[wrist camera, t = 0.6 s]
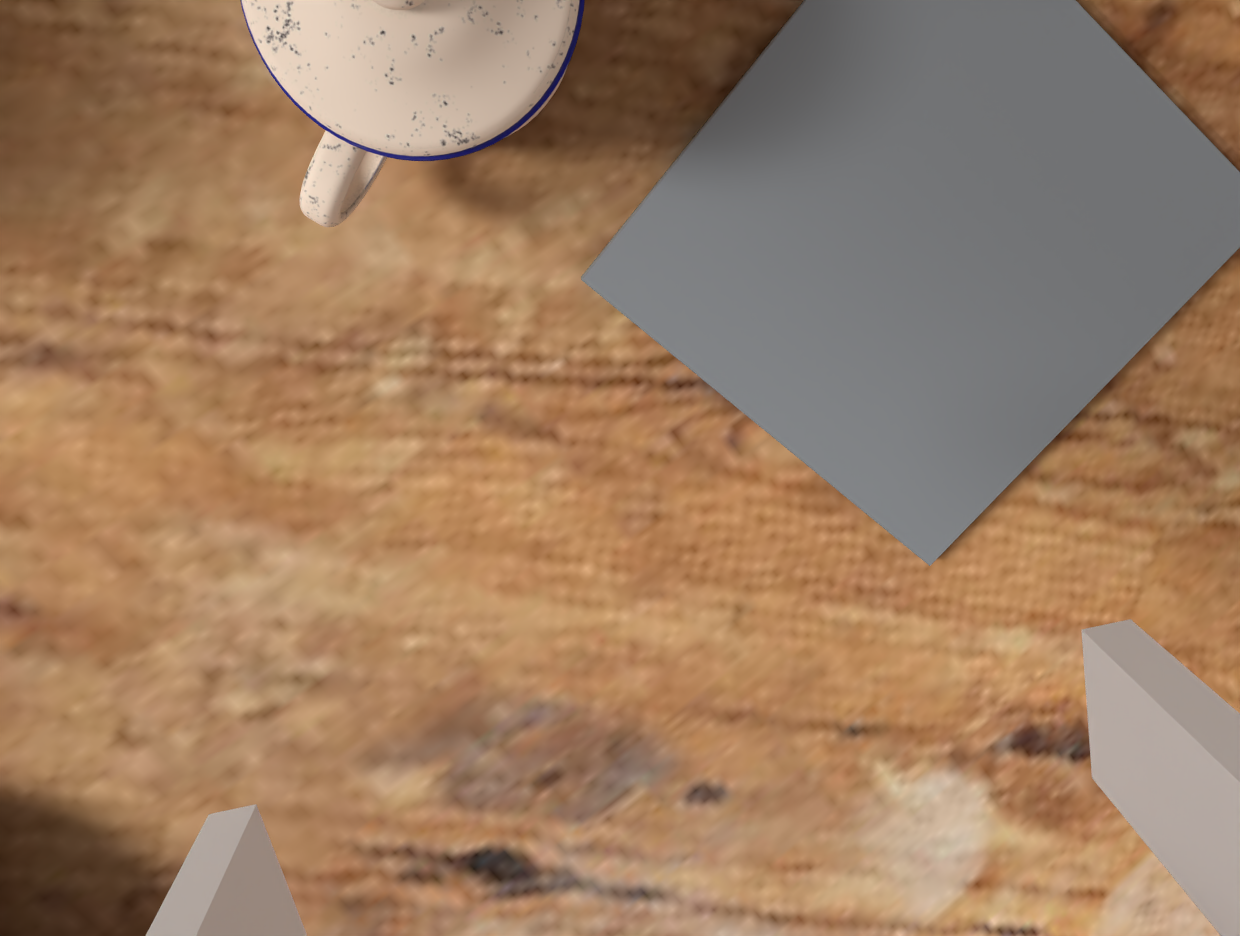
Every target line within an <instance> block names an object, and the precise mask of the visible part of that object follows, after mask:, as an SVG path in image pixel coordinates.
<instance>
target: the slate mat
mask: <svg viewBox="0 0 1240 936" xmlns="http://www.w3.org/2000/svg"><path fill="white" fill-rule="evenodd" d="M1239 248H1240V172H1239V171H1238V170H1237V169H1236V168H1235V167H1234V166H1233V165H1232V164H1231V163H1230V161H1229V160H1228V159H1227V158H1226V157H1225V156H1224V155H1223V154H1222V153H1221V152H1220V151H1219V150H1218V149H1217V148H1216V147H1215V146H1214V145H1213V144H1212V143H1211V142H1210V141H1209V139H1208V138H1207V137H1206V136H1205V135H1204V134H1203V133H1202V132H1201V131H1200V130H1199V129H1198V128H1197V127H1196V126H1195V125H1194V124H1193V123H1192V122H1191V121H1190V120H1189V119H1188V118H1187V116H1186V115H1185V114H1184V113H1183V112H1182V111H1181V110H1180V109H1179V108H1178V107H1177V106H1176V105H1175V104H1174V103H1173V102H1172V101H1171V100H1170V99H1169V98H1168V97H1167V96H1166V94H1165V93H1164V92H1163V91H1162V90H1161V89H1160V88H1159V87H1158V86H1157V85H1156V84H1155V83H1154V82H1153V81H1152V80H1151V79H1150V78H1149V77H1148V76H1147V75H1146V74H1145V73H1144V71H1143V70H1142V69H1141V68H1140V67H1139V66H1138V65H1137V64H1136V63H1135V62H1134V61H1133V60H1132V59H1131V58H1130V57H1129V56H1128V55H1127V54H1126V53H1125V52H1124V51H1123V49H1122V48H1121V47H1120V46H1119V45H1118V44H1117V43H1116V42H1115V41H1114V40H1113V39H1112V38H1111V37H1110V36H1109V35H1108V34H1107V33H1106V32H1105V31H1104V30H1103V29H1102V27H1101V26H1100V25H1099V24H1098V23H1097V22H1096V21H1095V20H1094V19H1093V18H1092V17H1091V16H1090V15H1089V14H1088V13H1087V12H1086V11H1085V10H1084V9H1083V8H1082V7H1081V6H1080V4H1079V3H1078V2H1077V1H1076V0H804V1H803V2H802V4H801V5H800V6H799V7H798V9H797V10H796V11H795V12H794V14H793V15H792V16H791V17H790V19H789V20H788V21H787V22H786V23H785V25H784V26H783V27H782V28H781V30H780V31H779V32H778V33H777V35H776V36H775V37H774V38H773V40H772V41H771V42H770V43H769V45H768V46H767V47H766V48H765V50H764V51H763V52H762V53H761V54H760V56H759V57H758V58H757V59H756V61H755V62H754V63H753V64H752V66H751V67H750V68H749V69H748V71H747V72H746V73H745V74H744V76H743V77H742V78H741V79H740V81H739V82H738V83H737V84H736V86H735V87H734V88H733V89H732V90H731V92H730V93H729V94H728V95H727V97H726V98H725V99H724V100H723V102H722V103H721V104H720V105H719V107H718V108H717V109H716V110H715V112H714V113H713V114H712V115H711V117H710V118H709V119H708V120H707V122H706V123H705V124H704V125H703V126H702V128H701V129H700V130H699V131H698V133H697V134H696V135H695V136H694V138H693V139H692V140H691V141H690V143H689V144H688V145H687V146H686V148H685V149H684V150H683V151H682V153H681V154H680V155H679V156H678V157H677V159H676V160H675V161H674V162H673V164H672V165H671V166H670V167H669V169H668V170H667V171H666V172H665V174H664V175H663V176H662V177H661V179H660V180H659V181H658V182H657V184H656V185H655V186H654V187H653V189H652V190H651V191H650V192H649V193H648V195H647V196H646V197H645V198H644V200H643V201H642V202H641V203H640V205H639V206H638V207H637V208H636V210H635V211H634V212H633V213H632V215H631V216H630V217H629V218H628V220H627V221H626V222H625V223H624V224H623V226H622V227H621V228H620V229H619V231H618V232H617V233H616V234H615V236H614V237H613V238H612V239H611V241H610V242H609V243H608V244H607V246H606V247H605V248H604V249H603V251H602V252H601V253H600V254H599V256H598V257H597V258H596V259H595V260H594V262H593V263H592V264H591V265H590V267H589V268H588V269H587V270H586V272H585V273H584V274H583V275H582V277H581V280H582V281H583V282H585V283H586V284H587V285H588V286H590V287H591V288H592V289H593V290H594V291H596V292H597V293H598V294H599V295H600V296H602V297H603V298H604V299H605V300H607V301H608V302H609V303H610V304H611V305H613V306H614V307H615V308H616V309H618V310H619V311H620V312H621V313H622V314H624V315H625V316H626V317H627V318H629V319H630V320H631V321H632V322H633V323H635V324H636V325H637V326H638V327H639V328H641V329H642V330H643V331H644V332H646V333H647V334H648V335H649V336H650V337H652V338H653V339H654V340H655V341H657V342H658V343H659V344H660V345H661V346H663V347H664V348H665V349H666V350H667V351H669V352H670V353H671V354H672V355H674V356H675V357H676V358H677V359H678V360H680V361H681V362H682V363H683V364H685V365H686V366H687V367H688V368H689V369H691V370H692V371H693V372H694V373H695V374H697V375H698V376H699V377H700V378H702V379H703V380H704V381H705V382H706V383H708V384H709V385H710V386H711V387H713V388H714V389H715V390H716V391H717V392H719V393H720V394H721V395H722V396H724V397H725V398H726V399H727V400H728V401H730V402H731V403H732V404H733V405H734V406H736V407H737V408H738V409H739V410H741V411H742V412H743V413H744V414H745V415H747V416H748V417H749V418H750V419H752V420H753V421H754V422H755V423H756V424H758V425H759V426H760V427H761V428H762V429H764V430H765V431H766V432H767V433H769V434H770V435H771V436H772V437H773V438H775V439H776V440H777V441H778V442H780V443H781V444H782V445H783V446H784V447H786V448H787V449H788V450H789V451H790V452H792V453H793V454H794V455H795V456H797V457H798V458H799V459H800V460H801V461H803V462H804V463H805V464H806V465H808V466H809V467H810V468H811V469H812V470H814V471H815V472H816V473H817V474H819V475H820V476H821V477H822V478H823V479H825V480H826V481H827V482H828V483H829V484H831V485H832V486H833V487H834V488H836V489H837V490H838V491H839V492H840V493H842V494H843V495H844V496H845V497H847V498H848V499H849V500H850V501H851V502H853V503H854V504H855V505H856V506H857V507H859V508H860V509H861V510H862V511H864V512H865V513H866V514H867V515H868V516H870V517H871V518H872V519H873V520H875V521H876V522H877V523H878V524H879V525H881V526H882V527H883V528H884V529H885V530H887V531H888V532H889V533H890V534H892V535H893V536H894V537H895V538H896V539H898V540H899V541H900V542H901V543H903V544H904V545H905V546H906V547H907V548H909V549H910V550H911V551H912V552H914V553H915V554H916V555H917V556H918V557H920V558H921V559H922V560H923V561H924V562H926V563H927V564H928V565H929V566H930V565H931V564H932V563H933V562H934V561H935V560H936V559H937V558H938V557H939V556H940V555H941V554H942V553H943V552H944V551H945V550H946V549H947V548H948V547H949V546H950V545H951V544H952V543H953V542H954V541H955V540H956V539H957V538H958V537H959V535H960V534H961V533H962V532H963V531H964V530H965V529H966V528H967V527H968V526H969V525H970V524H971V523H972V522H973V521H974V520H975V519H976V518H977V517H978V516H979V515H980V514H981V513H982V512H983V511H984V510H985V509H986V508H987V507H988V506H989V505H990V504H991V503H992V502H993V501H994V499H995V498H996V497H997V496H998V495H999V494H1000V493H1001V492H1002V491H1003V490H1004V489H1005V488H1006V487H1007V486H1008V485H1009V484H1010V483H1011V482H1012V481H1013V480H1014V479H1015V478H1016V477H1017V476H1018V475H1019V474H1020V473H1021V472H1022V471H1023V470H1024V469H1025V468H1026V467H1027V466H1028V465H1029V464H1030V462H1031V461H1032V460H1033V459H1034V458H1035V457H1036V456H1037V455H1038V454H1039V453H1040V452H1041V451H1042V450H1043V449H1044V448H1045V447H1046V446H1047V445H1048V444H1049V443H1050V442H1051V441H1052V440H1053V439H1054V438H1055V437H1056V436H1057V435H1058V434H1059V433H1060V432H1061V431H1062V430H1063V429H1064V428H1065V426H1066V425H1067V424H1068V423H1069V422H1070V421H1071V420H1072V419H1073V418H1074V417H1075V416H1076V415H1077V414H1078V413H1079V412H1080V411H1081V410H1082V409H1083V408H1084V407H1085V406H1086V405H1087V404H1088V403H1089V402H1090V401H1091V400H1092V399H1093V398H1094V397H1095V396H1096V395H1097V394H1098V393H1099V392H1100V390H1101V389H1102V388H1103V387H1104V386H1105V385H1106V384H1107V383H1108V382H1109V381H1110V380H1111V379H1112V378H1113V377H1114V376H1115V375H1116V374H1117V373H1118V372H1119V371H1120V370H1121V369H1122V368H1123V367H1124V366H1125V365H1126V364H1127V363H1128V362H1129V361H1130V360H1131V359H1132V358H1133V357H1134V356H1135V354H1136V353H1137V352H1138V351H1139V350H1140V349H1141V348H1142V347H1143V346H1144V345H1145V344H1146V343H1147V342H1148V341H1149V340H1150V339H1151V338H1152V337H1153V336H1154V335H1155V334H1156V333H1157V332H1158V331H1159V330H1160V329H1161V328H1162V327H1163V326H1164V325H1165V324H1166V323H1167V322H1168V321H1169V320H1170V319H1171V317H1172V316H1173V315H1174V314H1175V313H1176V312H1177V311H1178V310H1179V309H1180V308H1181V307H1182V306H1183V305H1184V304H1185V303H1186V302H1187V301H1188V300H1189V299H1190V298H1191V297H1192V296H1193V295H1194V294H1195V293H1196V292H1197V291H1198V290H1199V289H1200V288H1201V287H1202V286H1203V285H1204V284H1205V283H1206V281H1207V280H1208V279H1209V278H1210V277H1211V276H1212V275H1213V274H1214V273H1215V272H1216V271H1217V270H1218V269H1219V268H1220V267H1221V266H1222V265H1223V264H1224V263H1225V262H1226V261H1227V260H1228V259H1229V258H1230V257H1231V256H1232V255H1233V254H1234V253H1235V252H1236V251H1237V250H1238V249H1239Z"/></svg>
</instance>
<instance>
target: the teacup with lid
mask: <svg viewBox="0 0 1240 936" xmlns="http://www.w3.org/2000/svg"><path fill="white" fill-rule="evenodd" d="M241 5H242V10H243V13H244V16H245V20H246V23H247V26H248V29H249V32H250V34H251V37H252V39H253V42H254V44H255V46H256V48H257V50H258V52H259V54H260V56H261V58H262V60H263V62H264V64H265V65H266V67H267V69H268V70H269V72H270V73H271V75H272V77H273V78H274V79H275V81H276V82H277V83H278V85H279V86H280V87H281V89H282V90H283V91H284V93H285V94H286V95H287V96H288V97H289V98H290V99H291V100H292V102H293V103H294V104H295V105H296V106H297V107H298V108H299V109H300V110H301V111H303V112H304V113H305V114H306V115H307V116H308V117H309V118H310V119H312V120H313V121H314V122H315V123H317V124H318V125H319V126H320V127H322V128H323V129H325V130H326V131H325V133H324V135H323V137H322V139H321V141H320V143H319V145H318V147H317V149H316V152H315V154H314V156H313V158H312V160H311V163H310V165H309V167H308V170H307V172H306V175H305V178H304V181H303V185H302V188H301V193H300V207H301V210H302V212H303V213H304V215H305V216H307V217H308V218H310V219H311V220H313V221H315V222H317V223H318V224H320V225H322V226H325V227H334V226H336V225H338V224H340V223H341V222H343V221H344V220H345V219H346V218H347V217H348V216H349V215H350V214H351V213H352V212H353V211H354V210H355V208H356V207H357V206H358V204H359V203H360V202H361V200H362V199H363V198H364V196H365V195H366V193H367V192H368V190H369V189H370V187H371V185H372V184H373V182H374V180H375V179H376V177H377V175H378V173H379V172H380V170H381V168H382V166H383V164H384V162H385V161H386V159H387V157H390V158H395V159H401V160H411V161H434V160H444V159H450V158H455V157H460V156H464V155H467V154H470V153H473V152H476V151H479V150H481V149H484V148H486V147H488V146H490V145H493V144H495V143H496V142H498V141H500V140H501V139H503V138H505V137H507V136H509V135H511V134H513V133H514V132H516V131H518V130H519V129H521V128H522V127H523V126H525V125H526V124H528V123H529V122H530V121H531V120H532V119H533V118H534V117H535V116H537V115H538V114H539V112H540V111H541V110H542V109H543V108H544V107H545V106H546V105H547V103H548V102H549V100H550V99H551V98H552V96H553V95H554V93H555V92H556V90H557V88H558V87H559V85H560V83H561V81H562V79H563V77H564V75H565V72H566V69H567V67H568V64H569V61H570V59H571V57H572V54H573V51H574V48H575V46H576V43H577V39H578V35H579V31H580V28H581V22H582V16H583V11H584V0H241Z"/></svg>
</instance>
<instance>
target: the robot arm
mask: <svg viewBox="0 0 1240 936" xmlns="http://www.w3.org/2000/svg"><path fill="white" fill-rule="evenodd" d="M1082 643H1083V657H1084V671H1085V685H1086V699H1087V713H1088V727H1089V741H1090V755H1091V769H1092V778H1093V780H1094V781H1095V782H1096V783H1097V784H1098V786H1099V787H1100V788H1101V789H1102V791H1103V792H1104V793H1105V794H1106V796H1107V797H1108V798H1109V799H1110V800H1111V802H1112V803H1113V804H1114V805H1115V807H1116V808H1117V809H1118V810H1119V811H1120V813H1121V814H1122V815H1123V816H1124V818H1125V819H1126V820H1127V821H1128V822H1129V824H1130V825H1131V826H1132V827H1133V829H1134V830H1135V831H1136V832H1137V834H1138V835H1139V836H1140V837H1141V838H1142V840H1143V841H1144V842H1145V843H1146V845H1147V846H1148V847H1149V848H1150V849H1151V851H1152V852H1153V853H1154V854H1155V856H1156V857H1157V858H1158V859H1159V861H1160V862H1161V863H1162V864H1163V865H1164V867H1165V868H1166V869H1167V870H1168V872H1169V873H1170V874H1171V875H1172V876H1173V878H1174V879H1175V880H1176V881H1177V883H1178V884H1179V885H1180V886H1181V887H1182V889H1183V890H1184V891H1185V892H1186V894H1187V895H1188V896H1189V897H1190V899H1191V900H1192V901H1193V902H1194V903H1195V905H1196V906H1197V907H1198V908H1199V910H1200V911H1201V912H1202V913H1203V914H1204V916H1205V917H1206V918H1207V919H1208V921H1209V922H1210V923H1211V924H1212V926H1213V927H1214V928H1215V929H1216V930H1217V932H1218V933H1219V934H1220V935H1221V936H1240V714H1239V713H1238V712H1237V711H1236V710H1235V709H1234V708H1232V707H1231V706H1230V705H1229V704H1228V703H1227V702H1226V701H1224V700H1223V699H1222V698H1221V697H1220V696H1219V695H1217V694H1216V693H1215V692H1214V691H1213V690H1212V689H1210V688H1209V687H1208V686H1207V685H1206V684H1205V683H1204V682H1202V681H1201V680H1200V679H1199V678H1198V677H1197V676H1195V675H1194V674H1193V673H1192V672H1191V671H1190V670H1188V669H1187V668H1186V667H1185V666H1184V665H1183V664H1182V663H1180V662H1179V661H1178V660H1177V659H1176V658H1175V657H1173V656H1172V655H1171V654H1170V653H1169V652H1168V651H1166V650H1165V649H1164V648H1163V647H1162V646H1161V645H1160V644H1158V643H1157V642H1156V641H1155V640H1154V639H1153V638H1151V637H1150V636H1149V635H1148V634H1147V633H1146V632H1144V631H1143V630H1142V629H1141V628H1140V627H1139V626H1137V625H1136V624H1135V623H1134V622H1133V621H1132V620H1131V619H1130V620H1125V621H1120V622H1116V623H1111V624H1106V625H1101V626H1097V627H1092V628H1087V629H1083V630H1082ZM146 936H307V934H306V932H305V929H304V926H303V924H302V921H301V919H300V916H299V914H298V911H297V908H296V906H295V903H294V901H293V898H292V895H291V893H290V890H289V888H288V885H287V883H286V880H285V877H284V875H283V872H282V870H281V867H280V864H279V862H278V859H277V857H276V854H275V851H274V849H273V846H272V844H271V841H270V839H269V836H268V833H267V831H266V828H265V826H264V823H263V820H262V818H261V815H260V813H259V810H258V808H257V805H251V806H246V807H241V808H237V809H232V810H227V811H222V812H218V813H213V814H209V815H208V817H207V819H206V821H205V823H204V825H203V827H202V828H201V830H200V832H199V834H198V836H197V838H196V840H195V842H194V844H193V846H192V848H191V850H190V851H189V853H188V855H187V857H186V859H185V861H184V863H183V865H182V867H181V869H180V871H179V873H178V874H177V876H176V878H175V880H174V882H173V884H172V886H171V888H170V890H169V892H168V894H167V896H166V897H165V899H164V901H163V903H162V905H161V907H160V909H159V911H158V913H157V915H156V917H155V919H154V921H153V922H152V924H151V926H150V928H149V930H148V932H147V934H146Z"/></svg>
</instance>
